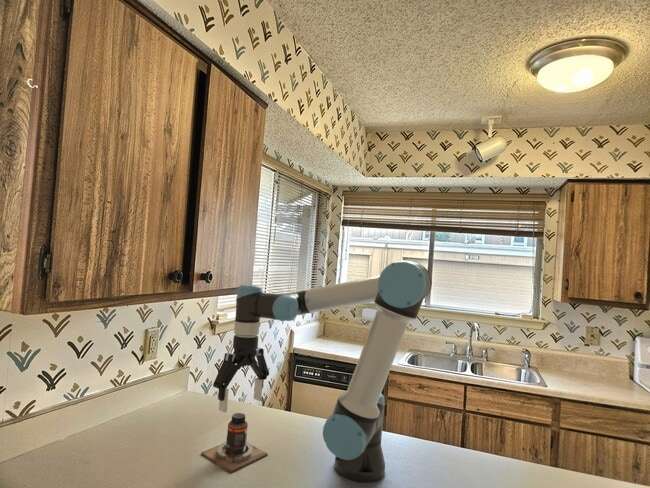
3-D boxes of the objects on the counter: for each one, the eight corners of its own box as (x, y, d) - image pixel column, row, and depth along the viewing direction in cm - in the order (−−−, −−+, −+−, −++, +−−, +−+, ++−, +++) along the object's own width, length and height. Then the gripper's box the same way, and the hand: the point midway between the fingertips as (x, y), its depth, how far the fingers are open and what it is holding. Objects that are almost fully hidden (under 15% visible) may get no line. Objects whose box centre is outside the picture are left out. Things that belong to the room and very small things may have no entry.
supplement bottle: (249, 453, 116) (252, 415, 117) (233, 460, 111) (237, 421, 112) (236, 446, 120) (240, 409, 120) (221, 452, 115) (224, 414, 116)
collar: (259, 453, 117) (260, 449, 117) (232, 466, 108) (232, 462, 108) (237, 441, 123) (237, 437, 123) (209, 452, 115) (210, 448, 115)
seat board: (267, 455, 117) (267, 453, 117) (231, 473, 106) (231, 471, 106) (237, 439, 125) (237, 437, 125) (201, 454, 114) (201, 452, 114)
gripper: (266, 329, 129) (262, 392, 128) (204, 337, 110) (198, 412, 108) (282, 332, 125) (278, 398, 124) (220, 342, 105) (214, 420, 104)
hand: (240, 405), depth 116 cm, fingers open, 13 cm apart
